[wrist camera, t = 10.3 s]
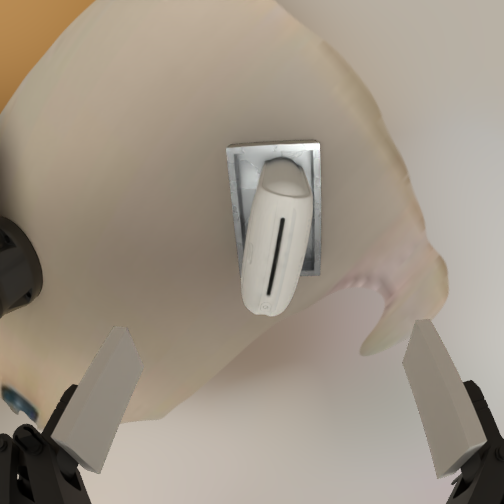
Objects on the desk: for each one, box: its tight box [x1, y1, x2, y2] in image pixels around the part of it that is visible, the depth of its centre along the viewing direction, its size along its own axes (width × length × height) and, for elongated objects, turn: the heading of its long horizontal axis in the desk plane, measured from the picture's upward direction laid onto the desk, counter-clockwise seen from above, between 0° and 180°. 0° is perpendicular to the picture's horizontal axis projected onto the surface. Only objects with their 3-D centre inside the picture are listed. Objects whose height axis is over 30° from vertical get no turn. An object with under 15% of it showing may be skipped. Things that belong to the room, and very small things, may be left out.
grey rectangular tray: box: [226, 140, 321, 278], centre depth 30 cm, size 8×13×3 cm, turn 5°
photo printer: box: [241, 157, 313, 316], centre depth 25 cm, size 10×4×12 cm, turn 172°
